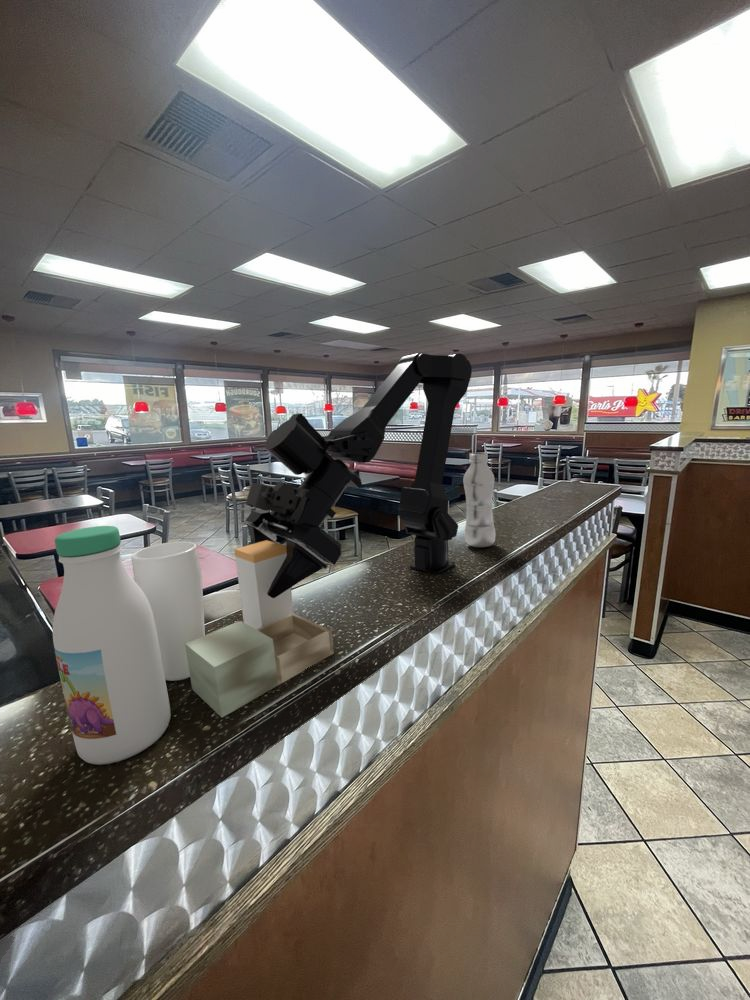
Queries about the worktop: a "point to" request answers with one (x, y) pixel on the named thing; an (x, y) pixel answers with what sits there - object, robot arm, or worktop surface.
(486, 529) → the plastic bottle
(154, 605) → the drinking glass
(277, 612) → the orange-topped white pillar
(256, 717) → the worktop surface
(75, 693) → the milk bottle
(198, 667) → the open wooden box
